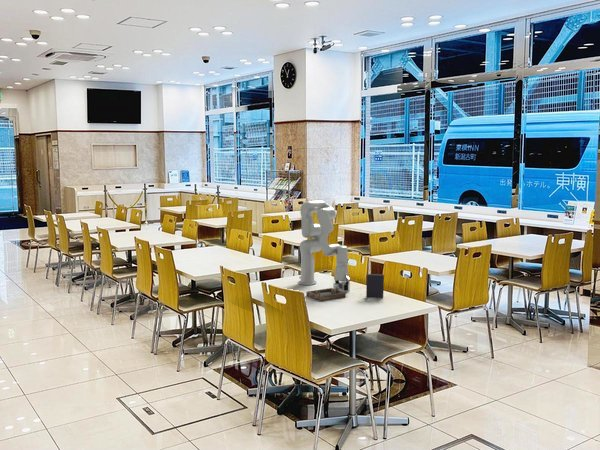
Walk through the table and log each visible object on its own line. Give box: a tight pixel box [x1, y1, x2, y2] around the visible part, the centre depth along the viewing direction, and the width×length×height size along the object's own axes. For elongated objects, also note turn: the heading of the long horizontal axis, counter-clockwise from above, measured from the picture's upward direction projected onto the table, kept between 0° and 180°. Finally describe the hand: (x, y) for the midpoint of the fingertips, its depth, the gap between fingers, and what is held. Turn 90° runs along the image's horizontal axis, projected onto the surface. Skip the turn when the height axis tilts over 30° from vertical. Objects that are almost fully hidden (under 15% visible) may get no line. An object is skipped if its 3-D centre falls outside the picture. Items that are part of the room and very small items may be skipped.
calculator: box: [365, 273, 385, 299], centre depth 379 cm, size 11×4×15 cm, turn 84°
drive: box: [332, 281, 351, 293], centre depth 393 cm, size 5×10×6 cm, turn 125°
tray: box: [305, 287, 347, 302], centre depth 379 cm, size 16×20×4 cm
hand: (341, 288), depth 393 cm, fingers open, 9 cm apart
